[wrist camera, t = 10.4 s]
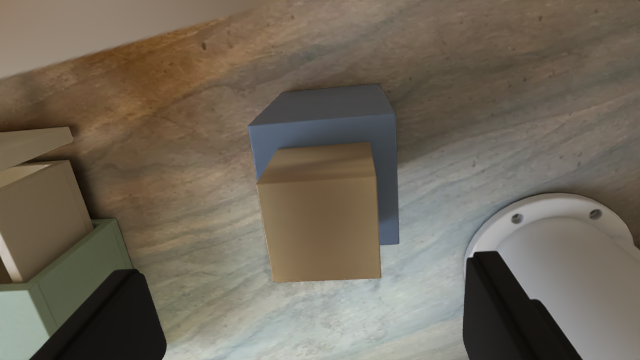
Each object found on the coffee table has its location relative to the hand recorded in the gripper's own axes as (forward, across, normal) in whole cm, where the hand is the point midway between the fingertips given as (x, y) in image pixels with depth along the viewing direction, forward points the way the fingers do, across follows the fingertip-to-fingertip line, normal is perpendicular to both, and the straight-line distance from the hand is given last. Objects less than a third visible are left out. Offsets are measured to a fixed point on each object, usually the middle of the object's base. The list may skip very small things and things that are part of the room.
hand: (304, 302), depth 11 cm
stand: (+19, 0, 0) cm, 19 cm away
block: (+9, 0, 0) cm, 9 cm away
